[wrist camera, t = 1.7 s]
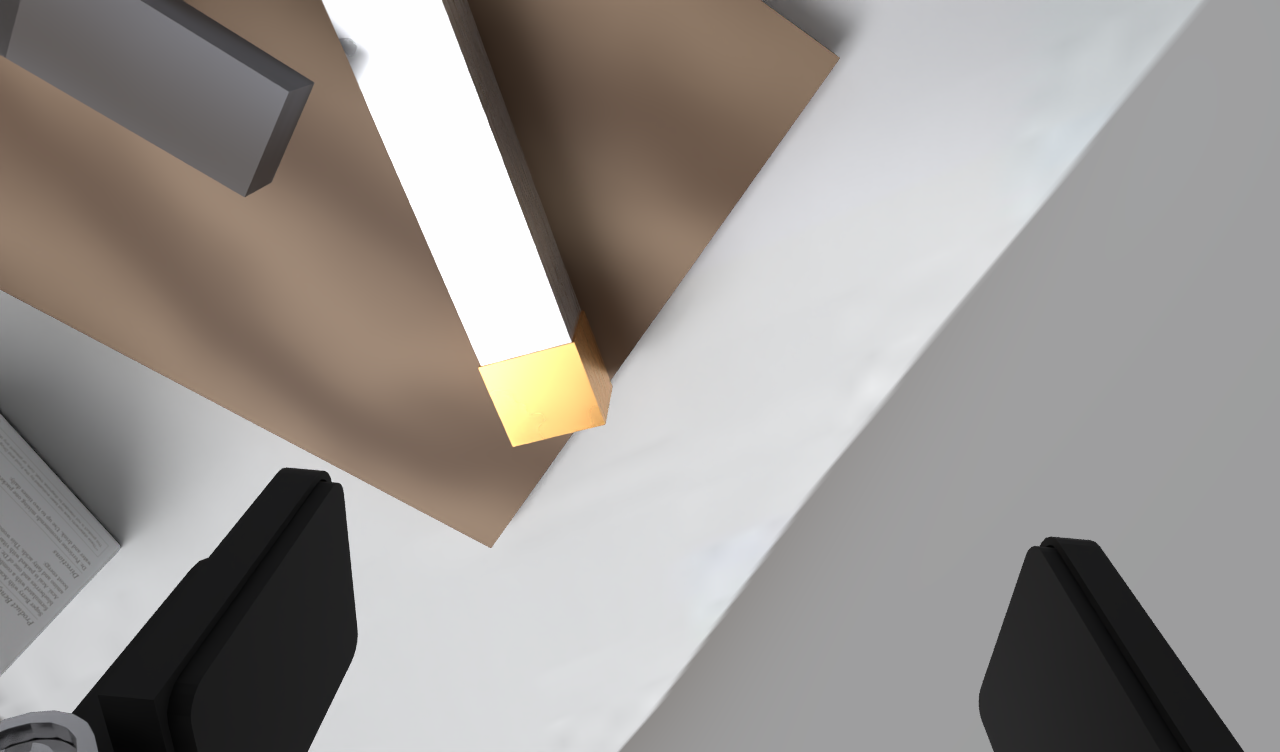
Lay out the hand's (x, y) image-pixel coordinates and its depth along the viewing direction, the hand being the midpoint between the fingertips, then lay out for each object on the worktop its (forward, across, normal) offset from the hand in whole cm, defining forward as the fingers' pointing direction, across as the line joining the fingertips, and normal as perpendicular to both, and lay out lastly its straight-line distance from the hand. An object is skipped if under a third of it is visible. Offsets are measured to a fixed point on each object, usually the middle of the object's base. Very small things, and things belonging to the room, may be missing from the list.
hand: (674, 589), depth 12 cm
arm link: (+17, +7, -3) cm, 19 cm away
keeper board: (+19, +11, -1) cm, 22 cm away
